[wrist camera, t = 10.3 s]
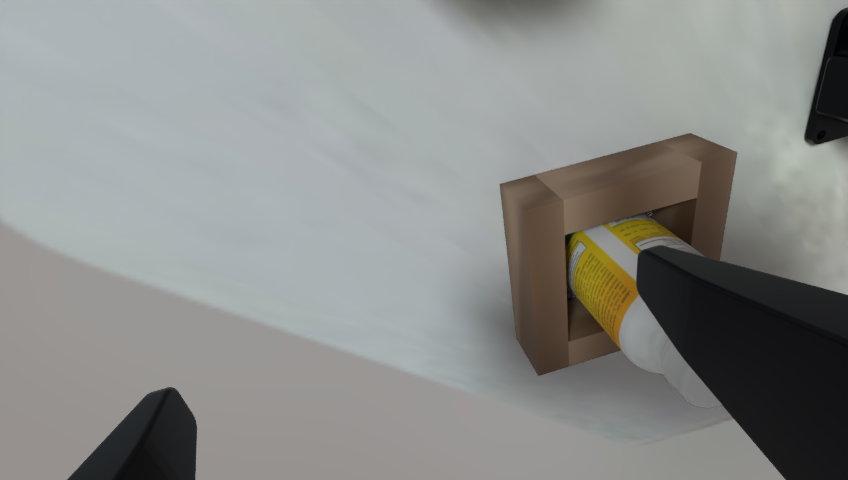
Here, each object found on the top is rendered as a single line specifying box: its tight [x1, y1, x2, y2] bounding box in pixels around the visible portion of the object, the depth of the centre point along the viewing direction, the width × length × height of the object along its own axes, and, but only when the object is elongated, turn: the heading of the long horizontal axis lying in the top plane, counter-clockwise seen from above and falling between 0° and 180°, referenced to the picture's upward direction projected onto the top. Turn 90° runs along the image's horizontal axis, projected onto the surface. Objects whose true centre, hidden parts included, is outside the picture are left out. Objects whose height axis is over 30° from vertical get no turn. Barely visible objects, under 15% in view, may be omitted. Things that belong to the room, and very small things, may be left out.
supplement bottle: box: [565, 213, 722, 408], centre depth 22 cm, size 5×5×10 cm
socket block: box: [500, 133, 737, 376], centre depth 25 cm, size 10×10×3 cm
